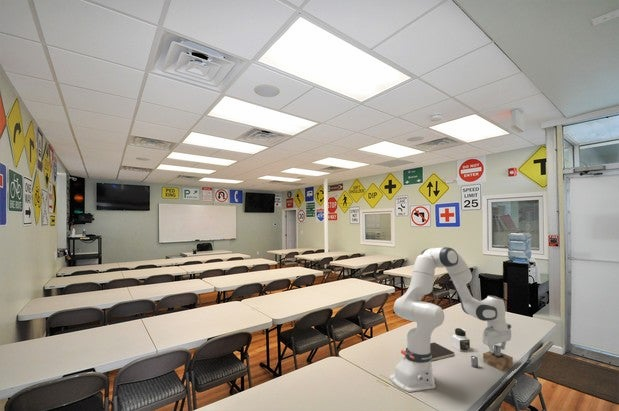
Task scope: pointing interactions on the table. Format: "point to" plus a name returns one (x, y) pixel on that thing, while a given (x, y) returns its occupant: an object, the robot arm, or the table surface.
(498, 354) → the long pin
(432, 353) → the hardcover book
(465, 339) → the medicine bottle
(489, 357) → the hole block
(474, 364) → the short pin
